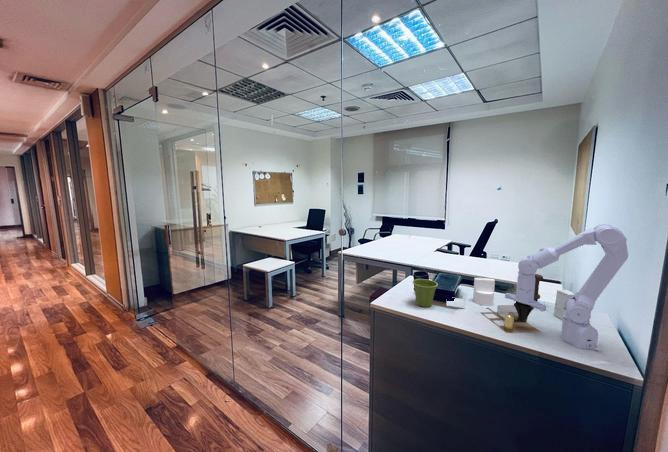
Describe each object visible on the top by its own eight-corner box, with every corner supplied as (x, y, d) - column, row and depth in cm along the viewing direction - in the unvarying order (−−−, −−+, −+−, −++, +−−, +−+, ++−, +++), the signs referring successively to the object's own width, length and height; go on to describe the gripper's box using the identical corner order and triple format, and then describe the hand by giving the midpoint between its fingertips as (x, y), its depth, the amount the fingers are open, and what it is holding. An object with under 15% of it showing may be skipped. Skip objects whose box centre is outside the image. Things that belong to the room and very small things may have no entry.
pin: (514, 331, 104) (515, 317, 103) (507, 332, 104) (508, 317, 103) (509, 328, 107) (510, 313, 106) (502, 328, 107) (503, 313, 106)
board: (543, 334, 104) (544, 327, 103) (506, 335, 103) (507, 327, 103) (504, 309, 127) (504, 303, 126) (473, 309, 126) (473, 303, 126)
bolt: (542, 307, 129) (545, 277, 127) (530, 306, 130) (533, 276, 128) (535, 302, 135) (538, 273, 133) (524, 301, 136) (527, 273, 134)
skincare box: (553, 315, 120) (555, 289, 119) (562, 315, 121) (565, 289, 119) (565, 321, 114) (568, 294, 113) (575, 321, 114) (578, 294, 113)
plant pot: (410, 307, 129) (411, 284, 128) (413, 298, 140) (413, 277, 139) (436, 311, 125) (437, 288, 123) (437, 302, 135) (438, 280, 134)
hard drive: (465, 308, 125) (464, 298, 137) (446, 305, 129) (447, 296, 140) (464, 311, 126) (464, 302, 137) (445, 308, 129) (446, 299, 140)
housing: (527, 321, 112) (528, 311, 112) (507, 321, 112) (508, 312, 111) (515, 313, 119) (516, 304, 119) (496, 314, 119) (497, 305, 118)
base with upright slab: (475, 304, 132) (477, 281, 131) (470, 298, 141) (472, 275, 139) (496, 306, 130) (497, 282, 129) (489, 299, 139) (491, 277, 137)
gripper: (552, 293, 100) (549, 327, 102) (513, 281, 114) (511, 312, 115) (540, 296, 98) (537, 331, 99) (502, 283, 111) (500, 315, 112)
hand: (522, 321), depth 107 cm, fingers closed
